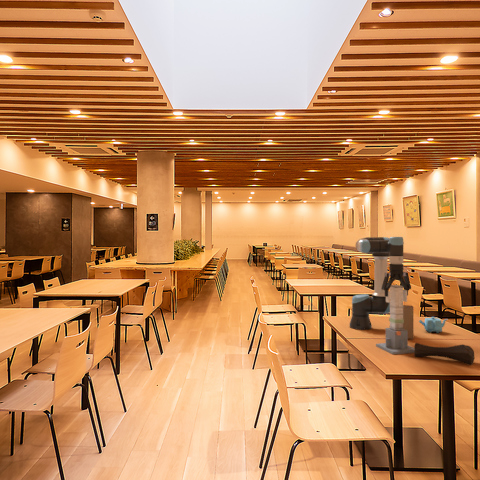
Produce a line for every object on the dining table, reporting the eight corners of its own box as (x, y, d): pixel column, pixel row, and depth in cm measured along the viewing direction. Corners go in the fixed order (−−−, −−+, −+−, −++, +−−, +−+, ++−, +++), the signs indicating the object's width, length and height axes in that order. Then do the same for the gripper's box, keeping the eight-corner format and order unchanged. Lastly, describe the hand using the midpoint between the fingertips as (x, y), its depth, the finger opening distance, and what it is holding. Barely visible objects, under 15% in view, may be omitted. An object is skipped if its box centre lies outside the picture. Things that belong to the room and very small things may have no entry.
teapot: (420, 333, 250) (420, 318, 250) (417, 328, 263) (417, 314, 263) (450, 335, 245) (450, 319, 245) (445, 330, 258) (445, 315, 258)
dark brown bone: (476, 367, 190) (416, 365, 203) (472, 346, 195) (414, 345, 208) (476, 362, 182) (413, 360, 195) (472, 341, 186) (412, 340, 200)
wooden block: (413, 336, 242) (413, 305, 242) (413, 339, 233) (413, 308, 233) (396, 334, 247) (396, 304, 247) (396, 338, 238) (396, 306, 238)
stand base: (376, 346, 220) (376, 326, 220) (399, 344, 223) (399, 325, 223) (392, 354, 204) (392, 333, 204) (418, 352, 208) (418, 331, 208)
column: (388, 331, 216) (388, 285, 216) (397, 330, 217) (397, 284, 217) (395, 333, 210) (395, 286, 210) (404, 333, 211) (404, 286, 211)
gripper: (382, 264, 207) (382, 303, 207) (418, 263, 212) (418, 302, 212) (374, 263, 215) (374, 301, 215) (409, 262, 220) (409, 299, 220)
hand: (396, 301), depth 214 cm, fingers open, 10 cm apart
